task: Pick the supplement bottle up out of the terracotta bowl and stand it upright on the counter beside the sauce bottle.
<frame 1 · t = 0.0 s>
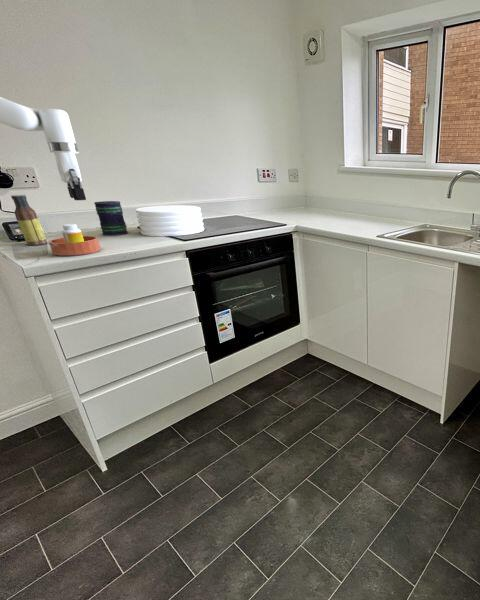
hand: (78, 198, 129), 21 cm above the countertop, tool pointing down, fingers open, 9 cm apart
plate stack: (173, 231, 182), on the countertop
storage jar: (115, 234, 171), on the countertop
bowl: (77, 252, 137), on the countertop
sauce bottle: (37, 244, 147), on the countertop
supplement bottle: (77, 251, 137), resting on bowl
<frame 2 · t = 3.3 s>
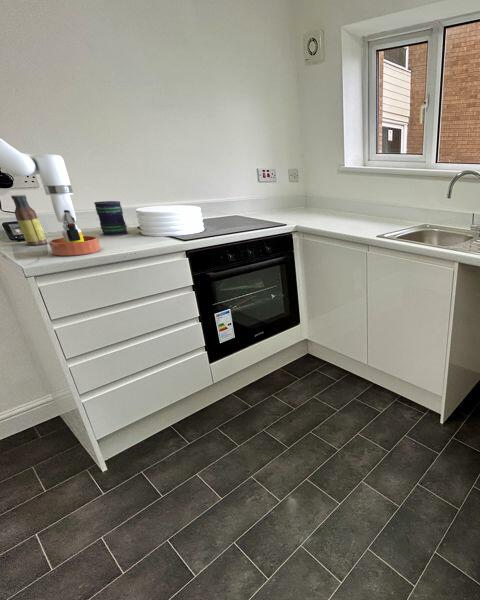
hand: (73, 238, 135), 5 cm above the countertop, tool pointing down, fingers closed on supplement bottle, 5 cm apart
supplement bottle: (77, 251, 137), resting on bowl, touching gripper
everything else where it was.
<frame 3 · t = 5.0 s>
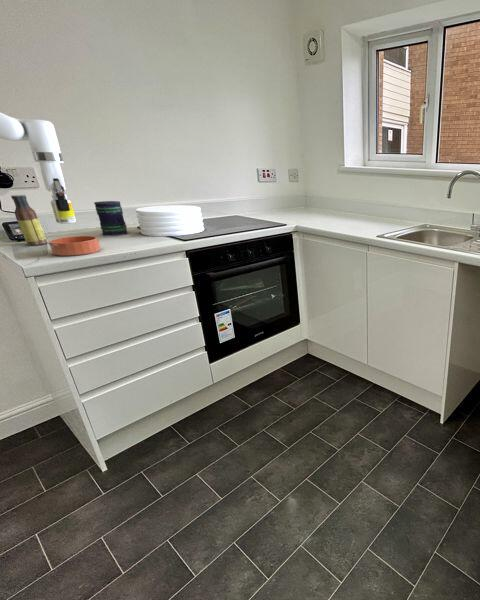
hand: (63, 209, 131), 16 cm above the countertop, tool pointing down, fingers closed on supplement bottle, 5 cm apart
supplement bottle: (66, 223, 133), point 11 cm above the countertop, touching gripper
everything else where it was.
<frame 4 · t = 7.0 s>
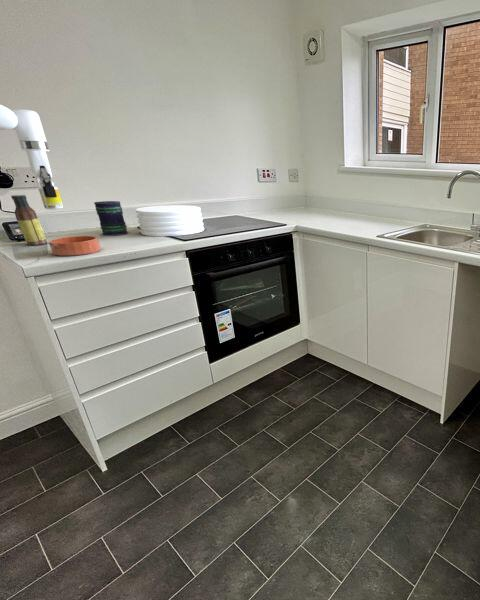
hand: (50, 196, 138), 20 cm above the countertop, tool pointing down, fingers closed on supplement bottle, 5 cm apart
supplement bottle: (54, 209, 140), point 15 cm above the countertop, touching gripper
everything else where it was.
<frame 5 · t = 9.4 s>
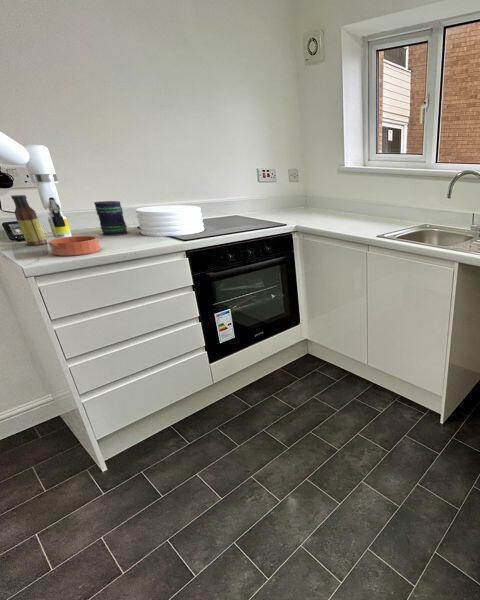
hand: (59, 225, 143), 9 cm above the countertop, tool pointing down, fingers closed on supplement bottle, 5 cm apart
supplement bottle: (63, 237, 145), point 3 cm above the countertop, touching gripper
everything else where it was.
when the fingers open (5 cm above the countertop, at t = 10.8 s): supplement bottle stays where it is, on the countertop.
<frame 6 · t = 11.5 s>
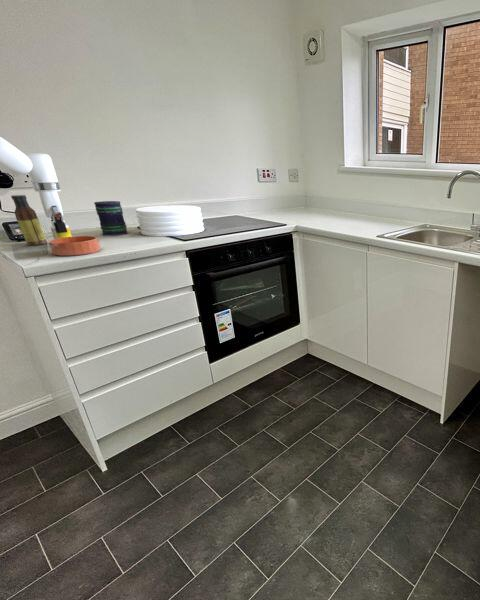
hand: (60, 230, 143), 6 cm above the countertop, tool pointing down, fingers open, 9 cm apart
supplement bottle: (65, 246, 146), on the countertop
everything else where it was.
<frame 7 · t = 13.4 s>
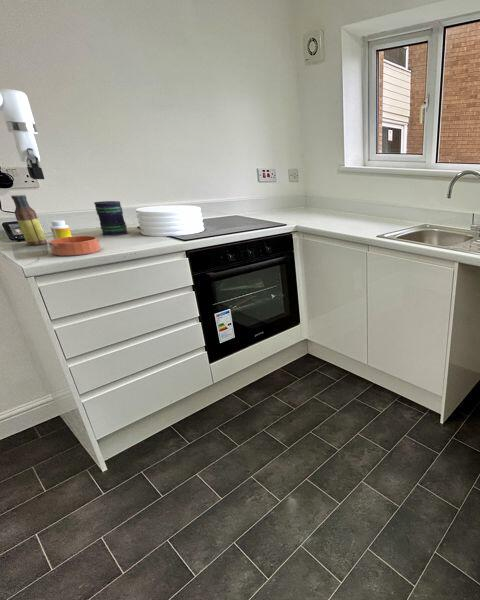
hand: (37, 178, 132), 27 cm above the countertop, tool pointing down, fingers open, 9 cm apart
nothing on the countertop moved.
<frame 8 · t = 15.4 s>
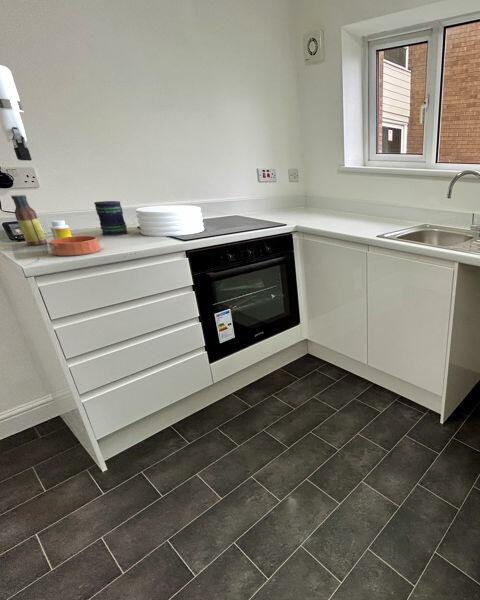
hand: (24, 160, 126), 33 cm above the countertop, tool pointing down, fingers open, 9 cm apart
nothing on the countertop moved.
at the end: supplement bottle inside the target area (0.0 cm from its centre), on the countertop; supplement bottle tilted 0°; supplement bottle touching countertop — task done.
